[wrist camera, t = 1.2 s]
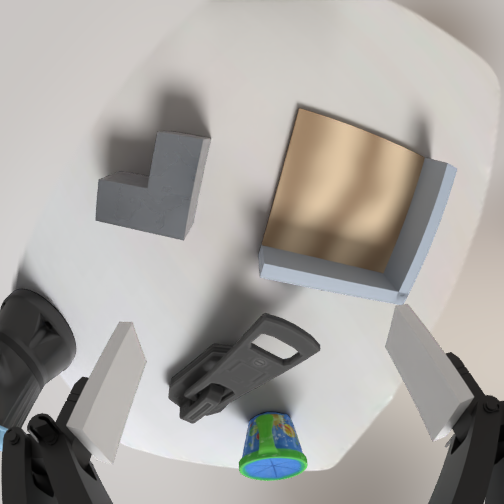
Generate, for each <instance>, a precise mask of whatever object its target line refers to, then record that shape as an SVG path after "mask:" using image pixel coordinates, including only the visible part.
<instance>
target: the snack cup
mask: <svg viewBox="0 0 504 504" xmlns="http://www.w3.org/2000/svg"><path fill="white" fill-rule="evenodd" d="M306 468H307V458H306V456H305V455H304V454H303V453H302V449H301V446H300V443H299V440H298V437H297V434H296V430H295V427H294V425H293V422H292V420H291V419H290V417H289V416H288V415H287V414H281V413H277V412H265V413H263V414H260V415H257V416H255V417H254V418H253V419H251V420H250V421H249V425H248V430H247V435H246V440H245V445H244V450H243V456H242V459H241V460H240V461H239V471H240V473H242V475H244V476H246V477H248V478H251V479H256V480H265V481H266V480H267V481H269V480H281V479H286V478H290V477H293V476H296V475H298V474H300V473H302V472H303V471H304V470H305V469H306Z"/></svg>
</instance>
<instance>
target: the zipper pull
mask: <svg viewBox="0 0 504 504" xmlns="http://www.w3.org/2000/svg"><path fill="white" fill-rule="evenodd" d="M261 334H267V335H270V336H273V337H275V338H277V339H279V340H281V341H282V342H284V343H286V344H288V345H290V346H291V347H293V348H295V349H296V350H297V351H298V353H296V354H295V355H293V356H292V357H291V358H287V359H282V358H280V357H277V356H275V355H273V354H272V353H270V352H268V351H266V350H264V349H262V348H260V347H258V346H257V345H255V344H253V343H252V341H253V340H255V339H256V338H257V337H258V336H259V335H261ZM319 351H320V344H319V343H318V342H317V341H316V340H315V339H314V338H313V337H312V336H311V335H310V334H309V333H307V332H306V331H305V330H303V329H301V328H300V327H298V326H296V325H295V324H293V323H291V322H289V321H287V320H285V319H282V318H280V317H276V316H273V315H270V314H267V313H264V314H263V315H262V316H261V317H260V318H259V319H258V320H257V321H256V322H255V323H254V324H253V325H252V326H251V327H250V329H249V330H248V331H247V332H246V333H245V334H244V335H243V336H242V337H241V339H240V340H239V341H238V342H237V343H236V344H235V345H234V346H228V345H219V344H213V345H212V346H211V347H209V348H208V349H207V350H206V351H205V352H203V353H202V354H201V355H200V356H199V357H197V358H196V359H195V360H194V361H193V362H191V363H190V364H189V365H188V366H187V367H185V368H184V369H183V370H182V371H180V372H179V373H178V374H176V375H175V376H174V377H172V380H171V383H170V387H169V399H170V400H171V401H173V402H174V403H175V404H177V405H178V406H179V407H180V418H181V419H183V420H185V421H187V422H190V423H193V424H194V423H195V422H196V421H198V420H199V419H201V418H202V417H203V416H205V415H206V416H208V415H211V414H215V413H218V412H221V411H222V410H223V409H224V408H225V407H226V406H227V405H228V404H229V403H230V402H232V401H234V400H235V399H237V398H239V397H240V396H242V395H244V394H246V393H248V392H249V391H251V390H253V389H255V388H257V387H259V386H261V385H262V384H264V383H266V382H268V381H270V380H272V379H273V378H275V377H277V376H279V375H280V374H282V373H284V372H286V371H287V370H289V369H291V368H293V367H294V366H296V365H298V364H299V363H301V362H303V361H304V360H306V359H308V358H309V357H311V356H312V355H314V354H316V353H317V352H319Z"/></svg>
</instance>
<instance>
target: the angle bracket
mask: <svg viewBox="0 0 504 504" xmlns="http://www.w3.org/2000/svg"><path fill="white" fill-rule="evenodd" d="M210 142H211V138H207V137H202V136H197V135H191V134H186V133H180V132H174V131H162V132H157V137H156V142H155V147H154V153H153V158H152V164H151V170H150V176H145V175H140V174H134V173H128V172H123V171H119V172H117V173H114V174H111V175H109V176H106V177H104V178H101V179H99V182H98V192H97V205H96V221H100V222H105V223H109V224H113V225H118V226H122V227H127V228H131V229H135V230H140V231H144V232H149V233H153V234H158V235H162V236H167V237H171V238H176V239H180V240H184V239H185V237H186V235H187V234H188V232H189V230H190V228H191V227H192V225H193V223H194V218H195V212H196V207H197V202H198V197H199V192H200V187H201V182H202V178H203V173H204V168H205V164H206V159H207V155H208V150H209V146H210Z"/></svg>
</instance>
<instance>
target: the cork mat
mask: <svg viewBox="0 0 504 504" xmlns="http://www.w3.org/2000/svg"><path fill="white" fill-rule="evenodd" d="M424 159H425V157H423V156H421V155H419V154H417V153H415V152H413V151H410V150H408V149H406V148H404V147H402V146H400V145H397V144H395V143H393V142H391V141H388V140H386V139H384V138H381V137H379V136H377V135H374V134H372V133H369V132H367V131H364V130H362V129H359V128H356V127H354V126H351V125H349V124H346V123H343V122H340V121H337V120H335V119H332V118H329V117H326V116H323V115H320V114H317V113H313V112H310V111H307V110H304V109H300V108H299V109H298V113H297V117H296V120H295V124H294V128H293V131H292V135H291V139H290V143H289V146H288V150H287V154H286V157H285V161H284V165H283V168H282V172H281V175H280V179H279V183H278V186H277V190H276V194H275V197H274V201H273V205H272V208H271V212H270V215H269V219H268V223H267V226H266V230H265V233H264V237H263V241H262V245H263V246H268V247H272V248H276V249H281V250H285V251H290V252H294V253H298V254H303V255H307V256H311V257H316V258H320V259H324V260H329V261H333V262H337V263H341V264H346V265H350V266H354V267H359V268H363V269H367V270H371V271H376V272H380V273H384V271H385V268H386V266H387V264H388V261H389V259H390V257H391V254H392V252H393V249H394V247H395V244H396V242H397V239H398V237H399V234H400V232H401V229H402V226H403V224H404V221H405V218H406V215H407V213H408V210H409V207H410V204H411V201H412V198H413V195H414V192H415V189H416V186H417V183H418V180H419V176H420V173H421V170H422V166H423V163H424Z"/></svg>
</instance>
